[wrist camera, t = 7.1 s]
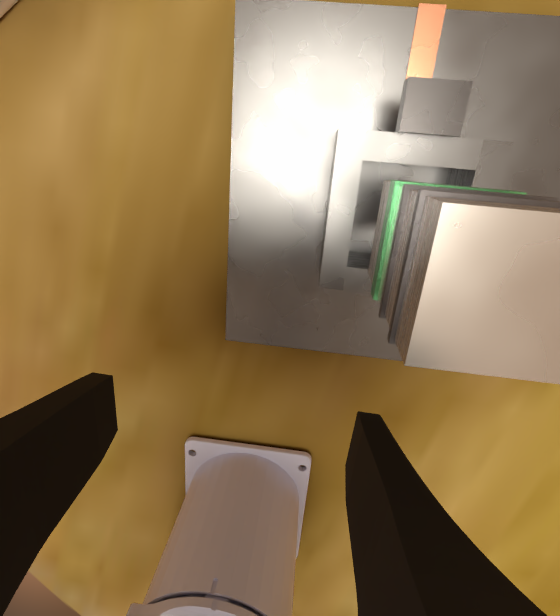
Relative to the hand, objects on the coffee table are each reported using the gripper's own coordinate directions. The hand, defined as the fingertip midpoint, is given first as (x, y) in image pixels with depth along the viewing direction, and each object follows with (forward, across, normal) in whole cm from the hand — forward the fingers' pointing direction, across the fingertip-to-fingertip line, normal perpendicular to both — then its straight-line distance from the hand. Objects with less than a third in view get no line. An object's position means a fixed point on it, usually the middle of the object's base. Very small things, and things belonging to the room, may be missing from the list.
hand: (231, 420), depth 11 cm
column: (+4, -5, -5) cm, 8 cm away
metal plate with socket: (+10, -5, -5) cm, 12 cm away
